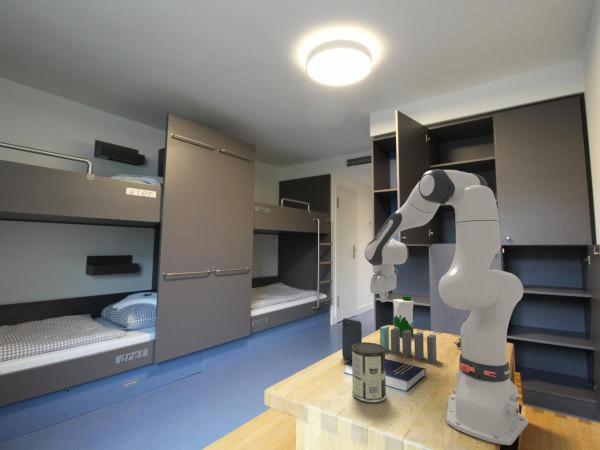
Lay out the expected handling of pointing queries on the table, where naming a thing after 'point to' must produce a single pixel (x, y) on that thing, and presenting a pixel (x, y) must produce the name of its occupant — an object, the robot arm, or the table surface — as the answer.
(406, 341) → the domino
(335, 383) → the table surface
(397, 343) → the domino
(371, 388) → the coffee can
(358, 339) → the phone case
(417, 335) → the domino
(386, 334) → the domino
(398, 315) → the milk carton
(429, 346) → the domino
